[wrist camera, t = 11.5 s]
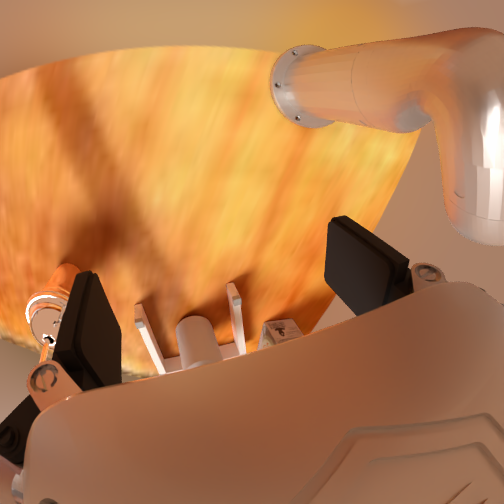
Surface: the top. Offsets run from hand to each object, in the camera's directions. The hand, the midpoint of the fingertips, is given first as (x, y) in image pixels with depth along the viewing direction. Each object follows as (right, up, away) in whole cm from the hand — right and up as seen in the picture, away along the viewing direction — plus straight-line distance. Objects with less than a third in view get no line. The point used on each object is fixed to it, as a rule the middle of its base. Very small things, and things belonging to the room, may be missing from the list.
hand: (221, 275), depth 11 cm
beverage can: (-9, -12, +38) cm, 41 cm away
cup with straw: (-26, -3, +26) cm, 37 cm away
